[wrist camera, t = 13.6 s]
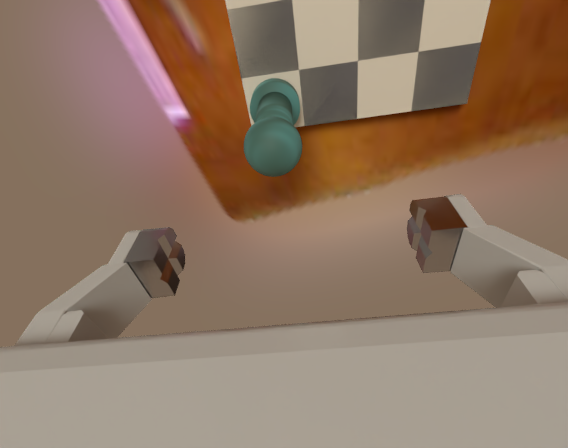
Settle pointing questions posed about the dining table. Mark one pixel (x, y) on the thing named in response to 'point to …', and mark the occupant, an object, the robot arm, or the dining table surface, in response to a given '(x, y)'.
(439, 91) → the board
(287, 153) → the pawn
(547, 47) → the dining table surface
